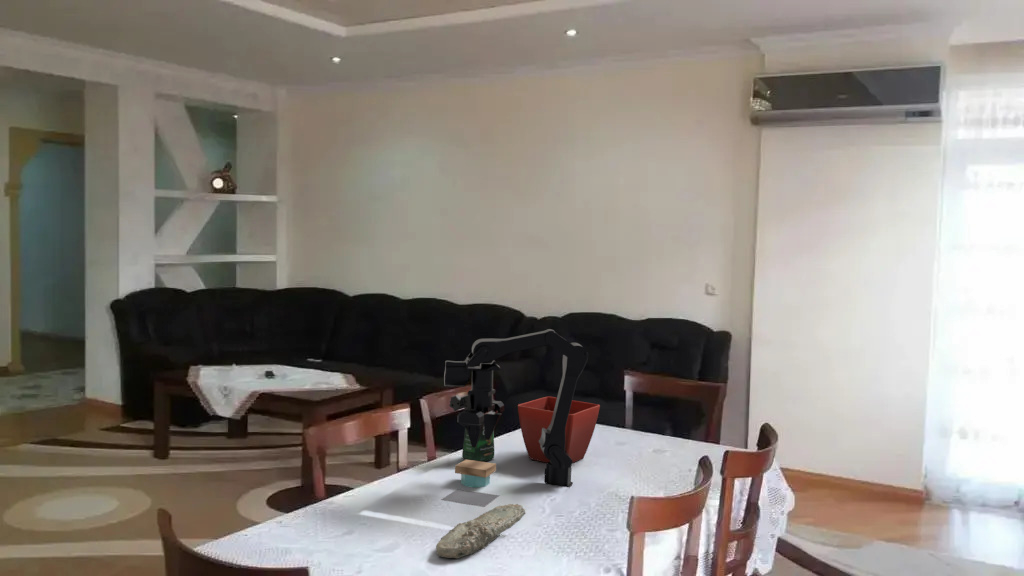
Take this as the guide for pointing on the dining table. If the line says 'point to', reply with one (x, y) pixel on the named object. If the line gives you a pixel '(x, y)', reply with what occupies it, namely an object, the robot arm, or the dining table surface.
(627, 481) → the dining table surface
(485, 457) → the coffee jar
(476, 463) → the lid
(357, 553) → the dining table surface
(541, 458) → the plant pot
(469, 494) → the mat
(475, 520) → the long grey stone
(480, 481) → the bowl
